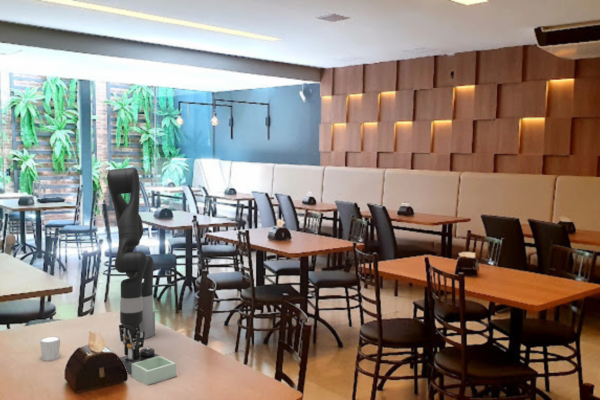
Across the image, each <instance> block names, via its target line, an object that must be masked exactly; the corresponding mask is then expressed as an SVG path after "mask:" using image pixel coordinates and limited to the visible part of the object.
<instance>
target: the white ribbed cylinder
mask: <svg viewBox="0 0 600 400" xmlns="http://www.w3.org/2000/svg"><path fill="white" fill-rule="evenodd" d="M39 344H40V352H41V360H43V361H46V362H47V361H49V362H50V361H54V360H55V361H56V360H57V359H60V358H59V357H60V346H61V337H59V336H48V337H46V336H45V337H44V338H43V337H42V338H41V339H39Z"/></svg>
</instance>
